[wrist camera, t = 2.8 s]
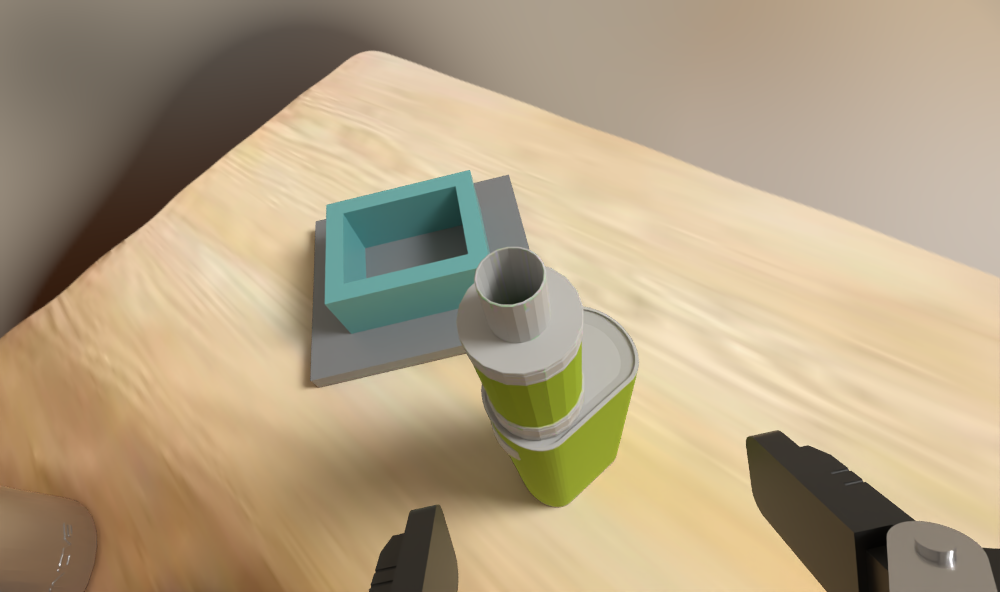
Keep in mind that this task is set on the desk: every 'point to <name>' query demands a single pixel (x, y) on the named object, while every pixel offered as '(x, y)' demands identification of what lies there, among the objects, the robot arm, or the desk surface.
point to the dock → (402, 272)
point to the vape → (547, 372)
